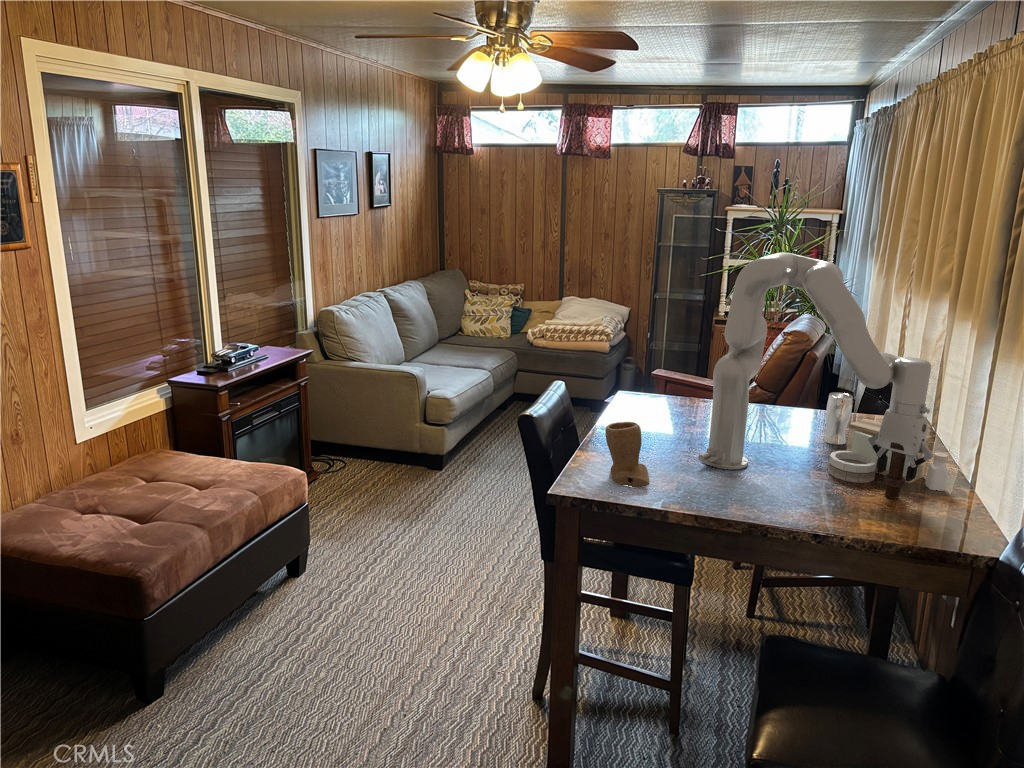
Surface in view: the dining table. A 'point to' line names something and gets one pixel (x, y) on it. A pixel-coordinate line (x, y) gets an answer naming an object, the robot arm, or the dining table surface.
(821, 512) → the dining table surface
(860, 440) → the grey piece
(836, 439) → the silver tall cylinder
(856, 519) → the dining table surface
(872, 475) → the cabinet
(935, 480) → the pepper shaker
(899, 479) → the bolt
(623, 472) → the tan hollow piece
